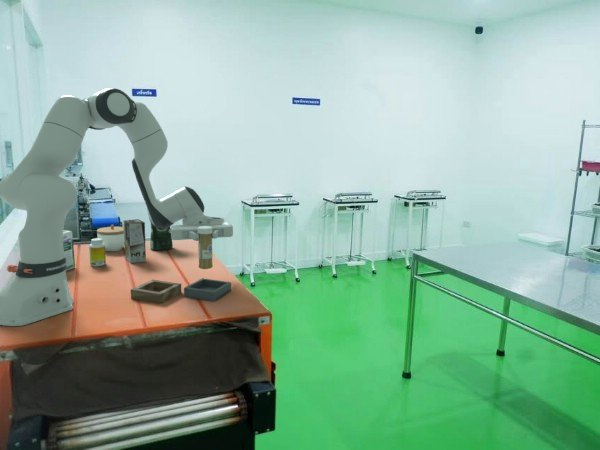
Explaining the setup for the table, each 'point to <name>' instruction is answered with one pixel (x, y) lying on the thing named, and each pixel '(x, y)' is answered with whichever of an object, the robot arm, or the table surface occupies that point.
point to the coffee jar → (160, 238)
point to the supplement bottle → (97, 252)
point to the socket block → (147, 293)
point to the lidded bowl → (112, 237)
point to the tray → (207, 289)
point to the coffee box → (134, 240)
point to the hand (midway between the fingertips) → (205, 236)
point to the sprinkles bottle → (205, 247)
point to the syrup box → (68, 249)
